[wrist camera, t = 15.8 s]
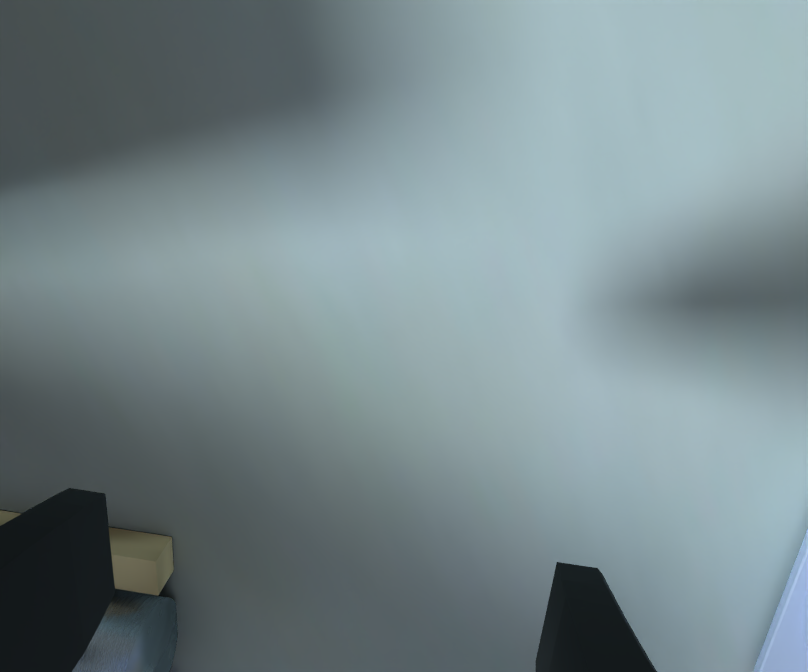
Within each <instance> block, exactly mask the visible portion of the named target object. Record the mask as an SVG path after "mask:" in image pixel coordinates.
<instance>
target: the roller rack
mask: <svg viewBox="0 0 808 672" xmlns="http://www.w3.org/2000/svg"><path fill="white" fill-rule="evenodd" d="M20 514H21V513H15V512H8V511H2V510H0V526H1V525H3V524H5V523H6V522H8V521H10V520H12V519H13V518H15V517H17V516H19V515H20ZM109 536H110V546H111V555H112V565H113V575H114V585H115V589H121V590H127V591H133V592H139V593H145V594H151V595H159V593H160V592H161V590H162V589H163V587H164V585H165V584H166V582H167V580H168V579H169V577H170V575H171V574H172V572H173V571H174V566H173V549H172V537H169V536H162V535H156V534H150V533H143V532H137V531H130V530H124V529H117V528H111V527H109Z"/></svg>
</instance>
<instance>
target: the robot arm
mask: <svg viewBox="0 0 808 672" xmlns="http://www.w3.org/2000/svg"><path fill="white" fill-rule="evenodd" d="M114 594H115V585H114V575H113V565H112V555H111V546H110V536H109V526H108V516H107V507H106V497H105V494H104V493H97V492H91V491H84V490H78V489H71V488H69V489H67V490H65V491H63V492H61V493H59V494H57V495H55V496H53V497H51V498H49V499H47V500H46V501H44V502H42V503H40V504H38V505H36V506H35V507H33V508H31V509H29V510H27V511H26V512H24V513H22V514H20V515H19V516H17V517H15V518H13V519H12V520H10V521H8V522H6V523H5V524H3V525H1V526H0V672H72V671H73V669H74V668H75V666H76V665H77V663H78V662H79V660H80V658H81V657H82V655H83V654H84V652H85V651H86V649H87V647H88V645H89V643H90V641H91V639H92V637H93V636H94V634H95V632H96V630H97V628H98V626H99V624H100V622H101V620H102V618H103V616H104V614H105V612H106V610H107V608H108V606H109V604H110V602H111V600H112V598H113V596H114ZM536 672H657V671H656V669H655V668H654V666H653V665H652V663H651V661H650V660H649V658H648V656H647V655H646V653H645V651H644V650H643V648H642V646H641V644H640V643H639V641H638V639H637V637H636V636H635V634H634V632H633V630H632V629H631V627H630V625H629V623H628V622H627V620H626V618H625V616H624V614H623V612H622V611H621V609H620V607H619V605H618V603H617V601H616V599H615V597H614V595H613V594H612V592H611V590H610V588H609V586H608V584H607V582H606V580H605V578H604V576H603V575H602V573H601V572H600V571H599V569H598V568H592V567H586V566H579V565H572V564H566V563H559V562H557V565H556V569H555V574H554V579H553V583H552V588H551V593H550V597H549V602H548V607H547V611H546V616H545V621H544V625H543V630H542V635H541V639H540V644H539V649H538V653H537V658H536ZM754 672H808V529H807V532H806V535H805V537H804V540H803V542H802V545H801V548H800V550H799V553H798V556H797V558H796V561H795V563H794V566H793V569H792V571H791V574H790V576H789V579H788V582H787V584H786V587H785V589H784V592H783V595H782V597H781V600H780V603H779V605H778V608H777V610H776V613H775V616H774V618H773V621H772V623H771V626H770V629H769V631H768V634H767V636H766V639H765V642H764V644H763V647H762V649H761V652H760V655H759V657H758V660H757V663H756V665H755V668H754Z"/></svg>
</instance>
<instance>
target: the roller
mask: <svg viewBox="0 0 808 672" xmlns="http://www.w3.org/2000/svg"><path fill="white" fill-rule="evenodd" d="M177 635H178V630H177V613H176V603H175V601H174V600H173V599H172V598H168V597H162V596H156V595H150V594H144V593H137V592H131V591H125V590H119V589H115V594H114V596H113V598H112V600H111V602H110V604H109V606H108V608H107V610H106V612H105V614H104V616H103V618H102V620H101V622H100V624H99V626H98V628H97V630H96V632H95V634H94V636H93V637H92V639H91V641H90V643H89V645H88V647H87V649H86V651H85V652H84V654H83V655H82V657H81V658H80V660H79V662H78V663H77V665H76V666H75V668H74V669H73V671H72V672H170V669H171V665H172V662H173V657H174V653H175V648H176V642H177Z"/></svg>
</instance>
